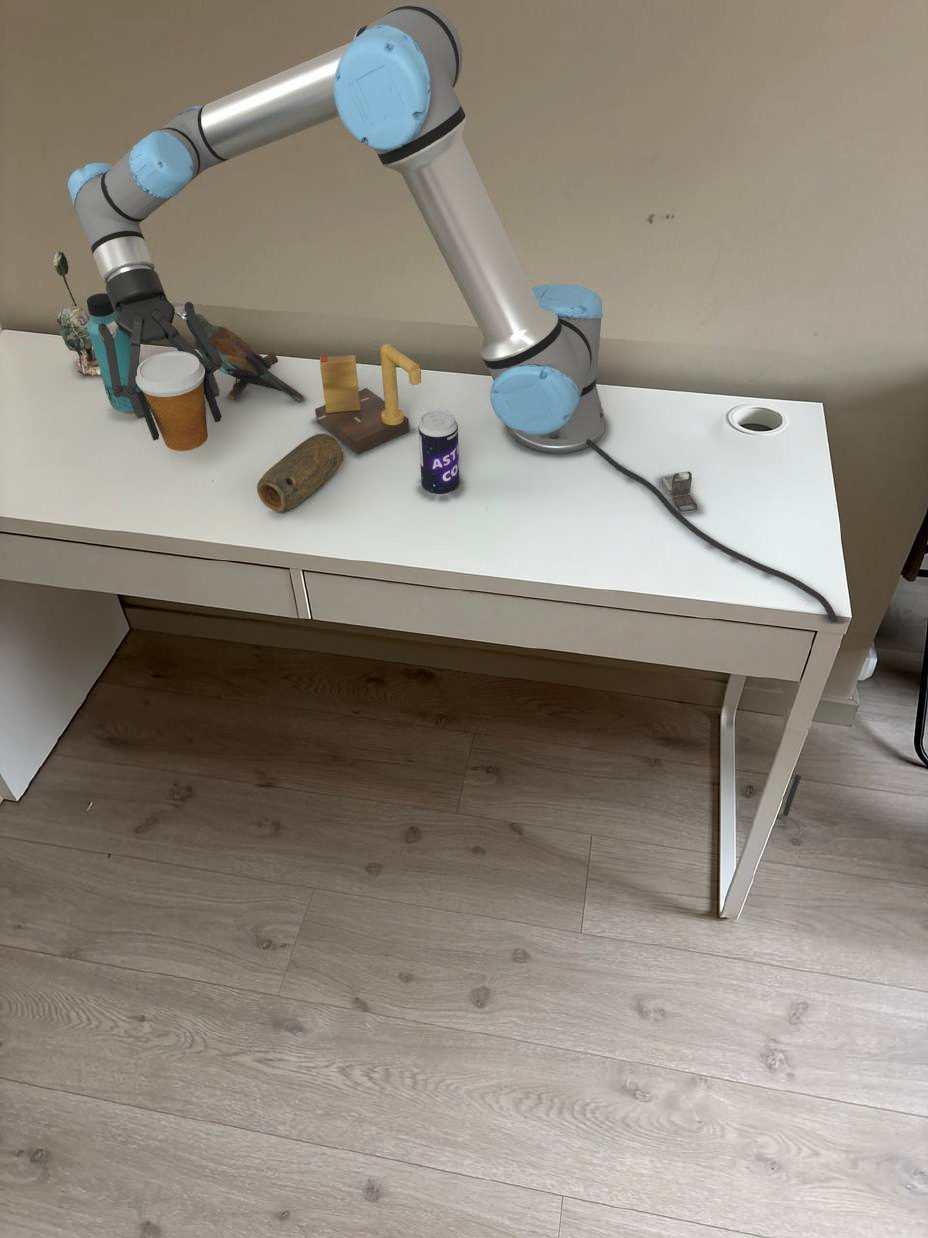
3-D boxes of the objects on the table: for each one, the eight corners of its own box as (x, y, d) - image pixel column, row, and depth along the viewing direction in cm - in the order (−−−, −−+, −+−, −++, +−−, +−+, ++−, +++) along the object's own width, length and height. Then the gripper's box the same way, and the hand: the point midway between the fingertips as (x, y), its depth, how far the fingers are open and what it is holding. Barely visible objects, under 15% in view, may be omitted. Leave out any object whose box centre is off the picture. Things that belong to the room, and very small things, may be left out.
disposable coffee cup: (204, 460, 146) (187, 387, 138) (142, 454, 148) (121, 381, 139) (228, 424, 153) (213, 352, 144) (169, 418, 154) (150, 346, 146)
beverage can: (432, 503, 150) (428, 434, 142) (415, 482, 154) (411, 414, 146) (466, 491, 152) (464, 423, 144) (448, 472, 156) (446, 404, 148)
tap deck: (409, 431, 164) (408, 417, 162) (350, 457, 159) (348, 443, 157) (361, 396, 172) (360, 382, 170) (303, 419, 167) (301, 405, 165)
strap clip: (659, 480, 153) (662, 456, 150) (679, 477, 154) (682, 454, 151) (678, 514, 147) (682, 491, 144) (699, 512, 148) (703, 488, 145)
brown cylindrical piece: (298, 523, 148) (291, 486, 143) (257, 511, 150) (249, 474, 145) (349, 467, 157) (345, 431, 153) (310, 457, 159) (305, 420, 155)
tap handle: (360, 404, 165) (354, 352, 159) (360, 410, 164) (355, 358, 158) (326, 407, 165) (319, 355, 159) (326, 413, 164) (319, 361, 157)
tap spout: (431, 436, 158) (427, 361, 149) (412, 445, 157) (407, 369, 148) (395, 410, 164) (390, 336, 155) (377, 418, 162) (370, 343, 153)
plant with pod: (58, 380, 177) (21, 270, 163) (91, 348, 185) (58, 240, 171) (100, 386, 176) (67, 275, 162) (132, 353, 184) (102, 245, 170)
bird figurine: (321, 382, 174) (252, 277, 165) (291, 413, 167) (217, 305, 159) (271, 403, 182) (203, 304, 173) (240, 432, 176) (168, 331, 167)
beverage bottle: (160, 405, 171) (130, 293, 157) (131, 424, 167) (98, 311, 153) (132, 394, 174) (100, 283, 160) (103, 413, 170) (68, 300, 156)
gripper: (200, 270, 152) (255, 414, 152) (56, 305, 145) (114, 456, 146) (204, 249, 145) (261, 400, 145) (52, 285, 138) (113, 443, 139)
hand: (187, 428), depth 146 cm, fingers closed on disposable coffee cup, 8 cm apart
